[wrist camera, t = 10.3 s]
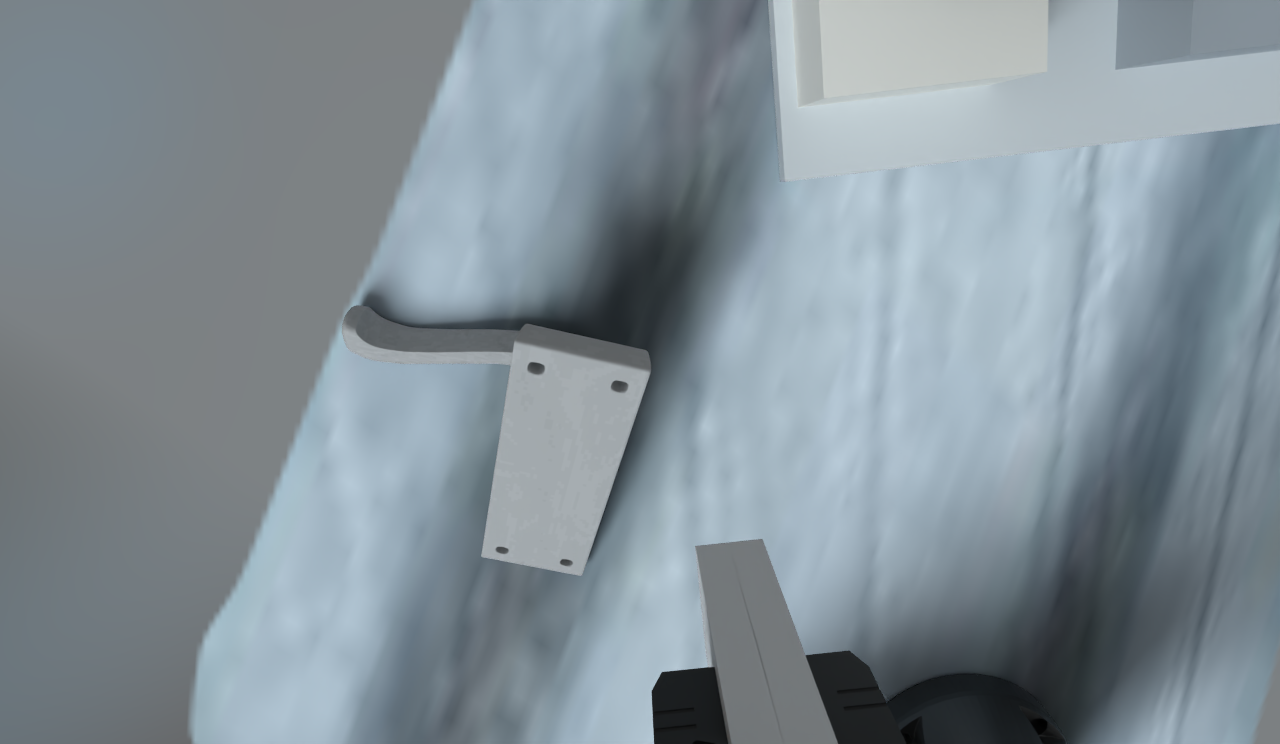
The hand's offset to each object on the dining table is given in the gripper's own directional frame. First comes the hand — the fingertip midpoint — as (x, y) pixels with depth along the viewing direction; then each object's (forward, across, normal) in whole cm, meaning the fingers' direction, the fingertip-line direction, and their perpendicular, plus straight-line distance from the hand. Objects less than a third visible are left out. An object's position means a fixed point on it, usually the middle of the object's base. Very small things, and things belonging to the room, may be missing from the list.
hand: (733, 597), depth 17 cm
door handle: (+33, +12, +5) cm, 35 cm away
